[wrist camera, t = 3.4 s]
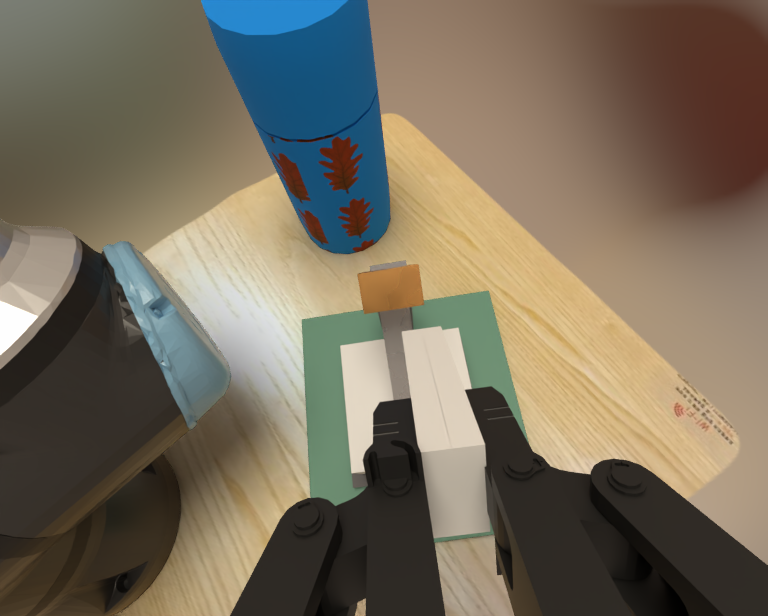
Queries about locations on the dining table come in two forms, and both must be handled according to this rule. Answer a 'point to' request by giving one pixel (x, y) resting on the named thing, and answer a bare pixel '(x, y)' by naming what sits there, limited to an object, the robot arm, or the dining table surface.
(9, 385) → the robot arm
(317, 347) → the lever on green base
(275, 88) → the thermos
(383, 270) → the grey and orange bar
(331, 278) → the dining table surface
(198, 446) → the dining table surface
